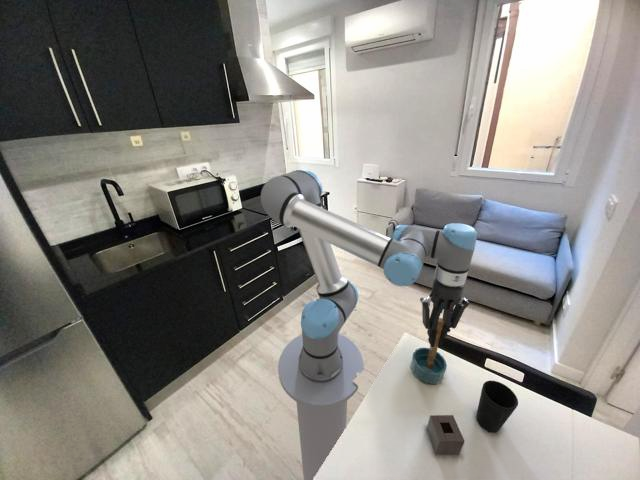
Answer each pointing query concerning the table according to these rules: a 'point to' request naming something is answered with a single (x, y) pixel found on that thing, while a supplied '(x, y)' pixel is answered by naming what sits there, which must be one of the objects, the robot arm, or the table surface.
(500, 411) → the cup
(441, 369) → the bowl
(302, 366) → the robot arm
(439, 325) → the stick
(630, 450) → the table surface
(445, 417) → the holder
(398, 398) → the table surface
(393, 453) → the table surface
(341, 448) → the table surface
